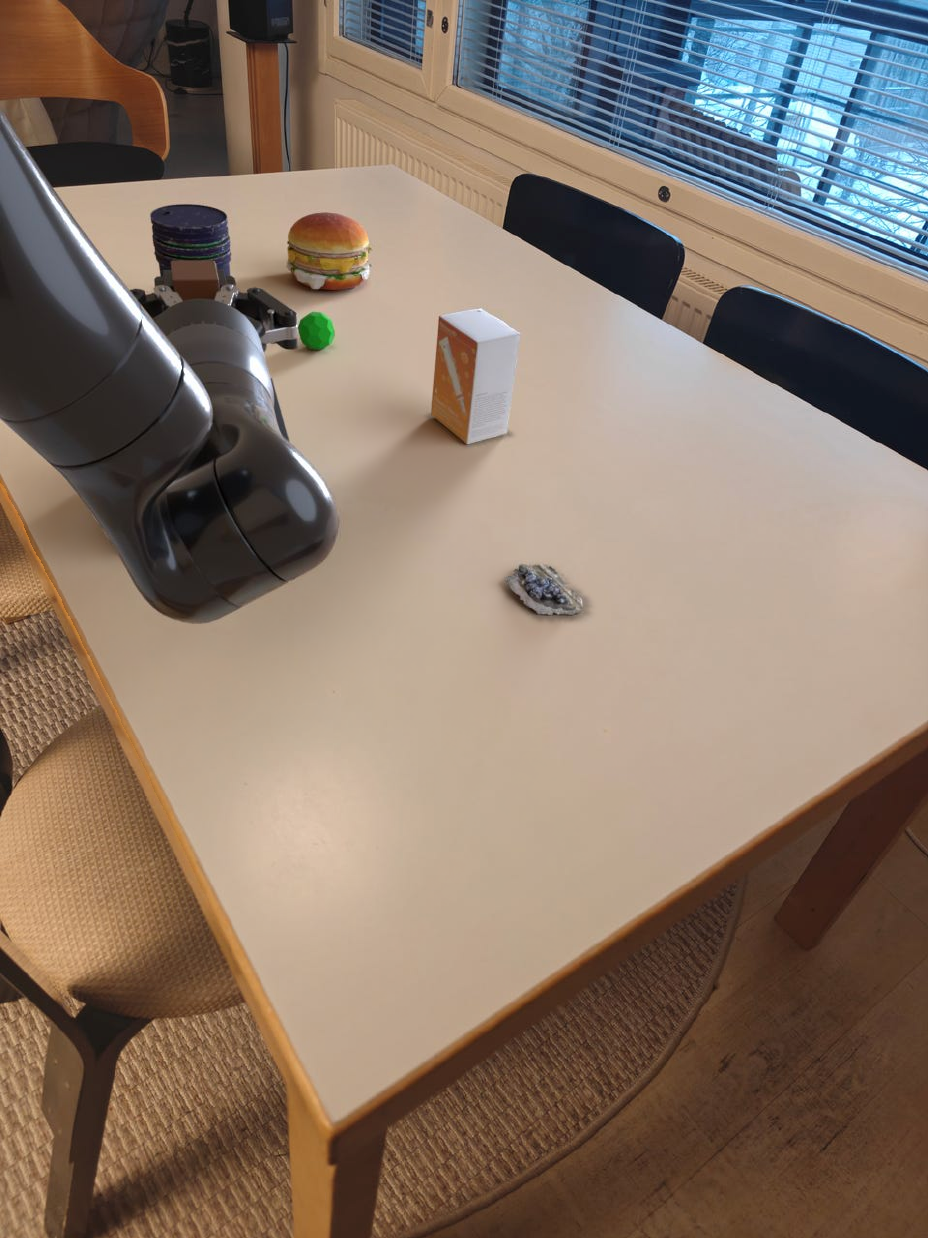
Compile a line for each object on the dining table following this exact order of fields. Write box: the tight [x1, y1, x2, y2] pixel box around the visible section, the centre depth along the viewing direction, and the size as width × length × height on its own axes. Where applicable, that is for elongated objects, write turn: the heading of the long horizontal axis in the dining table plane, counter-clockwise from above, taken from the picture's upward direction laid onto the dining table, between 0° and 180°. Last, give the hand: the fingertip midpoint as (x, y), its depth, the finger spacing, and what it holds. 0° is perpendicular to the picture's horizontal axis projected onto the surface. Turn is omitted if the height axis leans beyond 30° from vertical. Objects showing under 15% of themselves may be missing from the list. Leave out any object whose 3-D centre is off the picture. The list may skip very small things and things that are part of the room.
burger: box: [286, 211, 373, 291], centre depth 136 cm, size 13×14×10 cm
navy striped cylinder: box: [149, 203, 232, 276], centre depth 117 cm, size 10×10×15 cm
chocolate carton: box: [171, 261, 220, 301], centre depth 67 cm, size 3×4×12 cm
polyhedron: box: [297, 311, 336, 351], centre depth 118 cm, size 5×5×5 cm
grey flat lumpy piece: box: [504, 563, 584, 616], centre depth 83 cm, size 7×8×2 cm
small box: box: [430, 307, 521, 445], centre depth 103 cm, size 8×6×13 cm
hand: (194, 282), depth 67 cm, fingers closed on chocolate carton, 3 cm apart
